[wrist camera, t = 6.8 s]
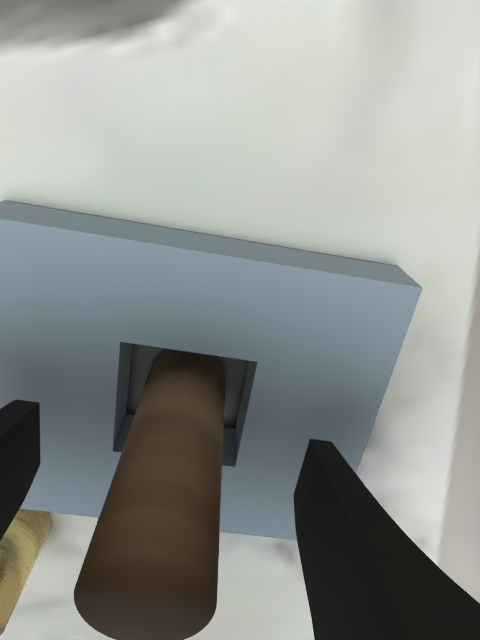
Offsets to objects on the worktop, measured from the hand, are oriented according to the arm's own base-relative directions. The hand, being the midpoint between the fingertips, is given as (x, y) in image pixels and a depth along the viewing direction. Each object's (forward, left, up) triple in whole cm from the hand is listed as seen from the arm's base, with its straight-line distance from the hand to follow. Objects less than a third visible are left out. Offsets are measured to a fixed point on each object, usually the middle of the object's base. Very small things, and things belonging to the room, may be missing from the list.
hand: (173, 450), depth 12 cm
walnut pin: (0, 0, -4) cm, 4 cm away
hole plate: (0, 0, -4) cm, 4 cm away
